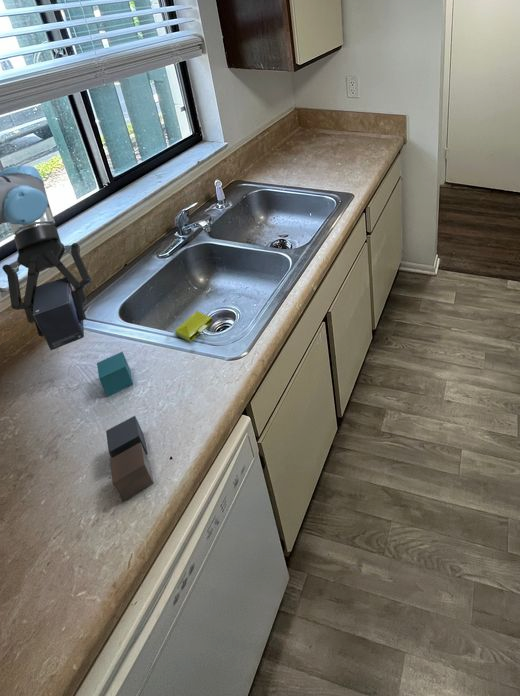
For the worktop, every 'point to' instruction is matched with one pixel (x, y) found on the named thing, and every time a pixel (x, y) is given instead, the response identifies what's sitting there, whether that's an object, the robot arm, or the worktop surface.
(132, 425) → the charcoal block
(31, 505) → the worktop surface
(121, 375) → the teal block
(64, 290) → the small box
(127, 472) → the walnut block
